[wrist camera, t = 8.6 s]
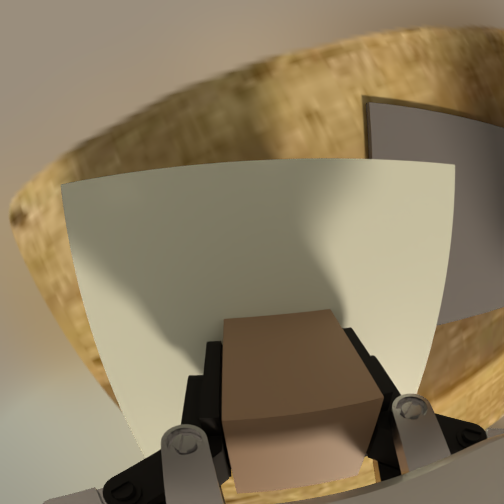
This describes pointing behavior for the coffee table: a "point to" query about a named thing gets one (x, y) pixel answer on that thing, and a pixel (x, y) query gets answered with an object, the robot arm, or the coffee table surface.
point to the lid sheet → (265, 298)
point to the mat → (455, 196)
